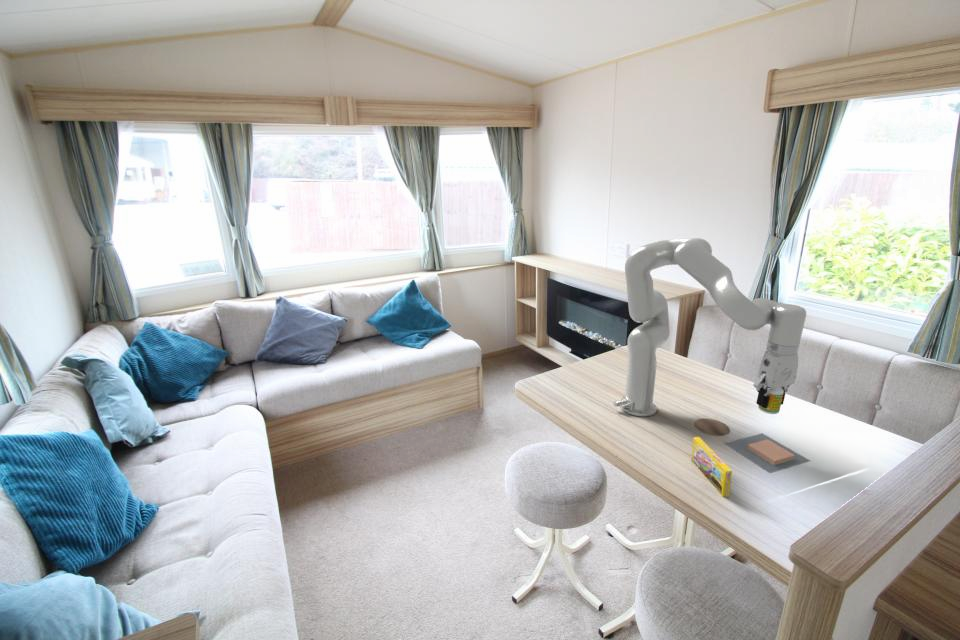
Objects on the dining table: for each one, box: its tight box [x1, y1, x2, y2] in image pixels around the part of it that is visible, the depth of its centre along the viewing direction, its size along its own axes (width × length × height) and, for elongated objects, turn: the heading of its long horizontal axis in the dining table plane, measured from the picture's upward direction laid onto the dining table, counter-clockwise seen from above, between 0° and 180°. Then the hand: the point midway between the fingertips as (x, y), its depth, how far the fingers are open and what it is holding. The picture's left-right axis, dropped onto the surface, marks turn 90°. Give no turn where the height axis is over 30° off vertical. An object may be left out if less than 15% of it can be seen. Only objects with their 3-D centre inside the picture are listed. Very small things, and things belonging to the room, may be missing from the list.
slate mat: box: [723, 433, 811, 474], centre depth 139 cm, size 16×16×1 cm
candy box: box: [691, 436, 733, 498], centre depth 128 cm, size 16×2×8 cm, turn 5°
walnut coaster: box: [693, 417, 731, 437], centre depth 154 cm, size 11×11×1 cm
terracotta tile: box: [747, 439, 795, 466], centre depth 138 cm, size 8×2×9 cm
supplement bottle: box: [758, 386, 784, 415], centre depth 135 cm, size 5×5×10 cm
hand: (769, 403), depth 136 cm, fingers closed on supplement bottle, 5 cm apart
